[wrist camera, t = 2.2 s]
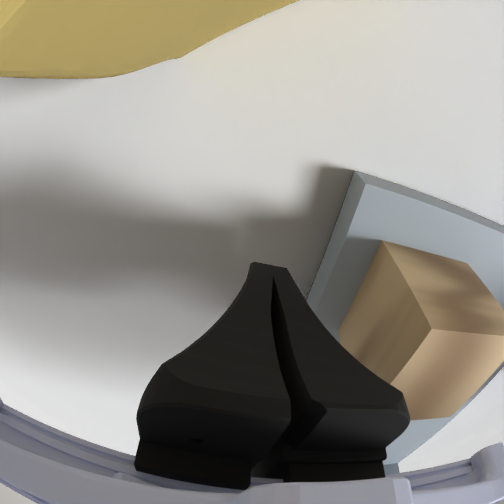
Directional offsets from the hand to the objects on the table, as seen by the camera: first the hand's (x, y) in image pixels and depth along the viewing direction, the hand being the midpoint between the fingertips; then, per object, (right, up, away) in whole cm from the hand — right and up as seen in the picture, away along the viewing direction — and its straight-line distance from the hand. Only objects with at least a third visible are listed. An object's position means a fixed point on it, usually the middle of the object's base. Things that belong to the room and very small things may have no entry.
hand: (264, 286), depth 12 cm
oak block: (+7, -1, +1) cm, 7 cm away
